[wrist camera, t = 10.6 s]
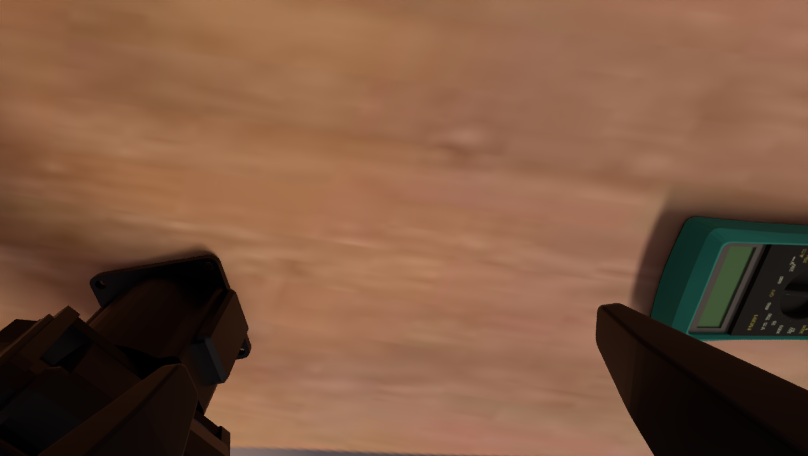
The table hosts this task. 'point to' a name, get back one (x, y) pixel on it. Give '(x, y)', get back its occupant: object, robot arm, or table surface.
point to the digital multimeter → (736, 281)
